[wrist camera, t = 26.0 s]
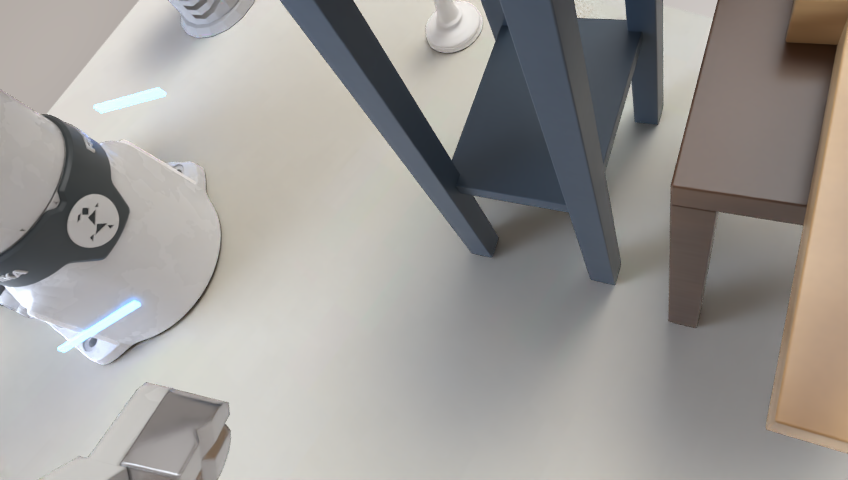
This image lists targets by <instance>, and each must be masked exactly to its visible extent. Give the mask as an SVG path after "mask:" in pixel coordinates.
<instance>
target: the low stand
mask: <svg viewBox="0 0 848 480" xmlns="http://www.w3.org/2000/svg"><path fill="white" fill-rule="evenodd" d="M793 2H794V0H718V2H717V6H716V10H715V13H714V17H713V21H712V25H711V29H710V33H709V37H708V41H707V45H706V49H705V53H704V57H703V61H702V64H701V68H700V72H699V76H698V80H697V84H696V88H695V92H694V96H693V100H692V104H691V108H690V112H689V116H688V120H687V123H686V127H685V131H684V135H683V139H682V143H681V147H680V151H679V155H678V159H677V163H676V167H675V171H674V175H673V179H672V182H671V199H670V202H671V203H670V255H669V313H668V321H669V322H672V323H676V324H680V325H684V326H689V327H693V328H697V325H698V320H699V316H700V311H701V307H702V302H703V296H704V291H705V285H706V280H707V274H708V269H709V263H710V258H711V252H712V247H713V241H714V235H715V230H716V224H717V219H718V213H719V212H723V213H729V214H735V215H741V216H748V217H754V218H760V219H766V220H773V221H779V222H785V223H791V224H797V225H804V219H805V214H806V209H807V203H808V198H809V193H810V187H811V182H812V177H813V172H814V166H815V161H816V156H817V150H818V145H819V140H820V134H821V129H822V124H823V118H824V113H825V108H826V102H827V97H828V92H829V86H830V81H831V76H832V71H833V65H834V60H835V55H836V49H837V45H831V44H811V43H791V42H786V40H785V39H786V35H787V30H788V25H789V21H790V16H791V12H792V7H793Z"/></svg>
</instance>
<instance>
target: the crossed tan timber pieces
mask: <svg viewBox="0 0 848 480" xmlns="http://www.w3.org/2000/svg"><path fill="white" fill-rule="evenodd" d="M785 40H786V42H791V43H811V44H831V45H837V49H836V55H835V60H834V65H833V71H832V76H831V81H830V86H829V92H828V97H827V102H826V108H825V113H824V118H823V124H822V129H821V134H820V140H819V145H818V150H817V156H816V161H815V166H814V172H813V177H812V182H811V187H810V193H809V198H808V203H807V209H806V214H805V219H804V225H803V230H802V235H801V241H800V246H799V251H798V257H797V262H796V267H795V273H794V278H793V283H792V288H791V294H790V299H789V304H788V310H787V315H786V320H785V326H784V331H783V336H782V342H781V347H780V352H779V358H778V363H777V368H776V374H775V379H774V384H773V389H772V395H771V400H770V405H769V411H768V416H767V421H766V429H767V430H769V431H773V432H776V433H779V434H783V435H786V436H790V437H793V438H796V439H800V440H803V441H807V442H810V443H813V444H817V445H820V446H823V447H827V448H830V449H834V450H837V451H840V452H844V453H847V454H848V0H794V2H793V7H792V12H791V16H790V21H789V25H788V30H787V35H786V39H785Z"/></svg>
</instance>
